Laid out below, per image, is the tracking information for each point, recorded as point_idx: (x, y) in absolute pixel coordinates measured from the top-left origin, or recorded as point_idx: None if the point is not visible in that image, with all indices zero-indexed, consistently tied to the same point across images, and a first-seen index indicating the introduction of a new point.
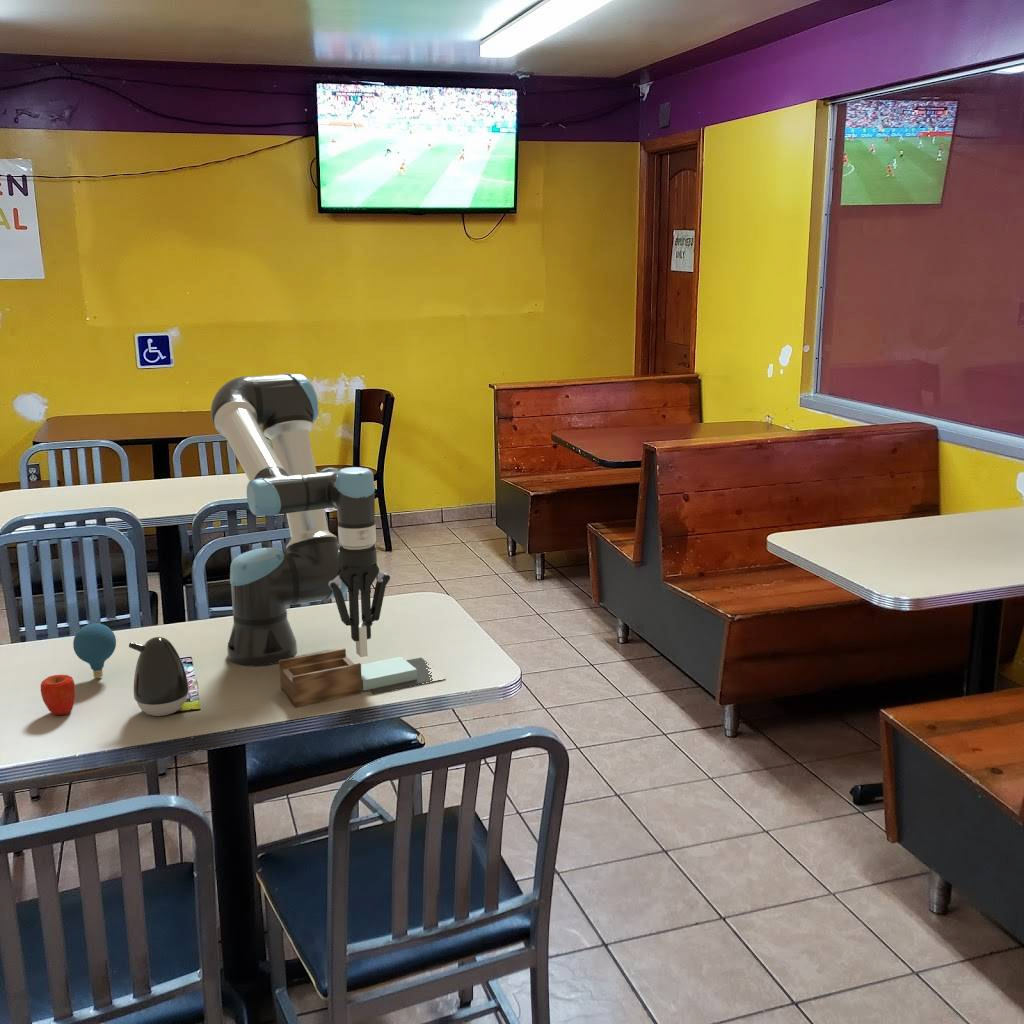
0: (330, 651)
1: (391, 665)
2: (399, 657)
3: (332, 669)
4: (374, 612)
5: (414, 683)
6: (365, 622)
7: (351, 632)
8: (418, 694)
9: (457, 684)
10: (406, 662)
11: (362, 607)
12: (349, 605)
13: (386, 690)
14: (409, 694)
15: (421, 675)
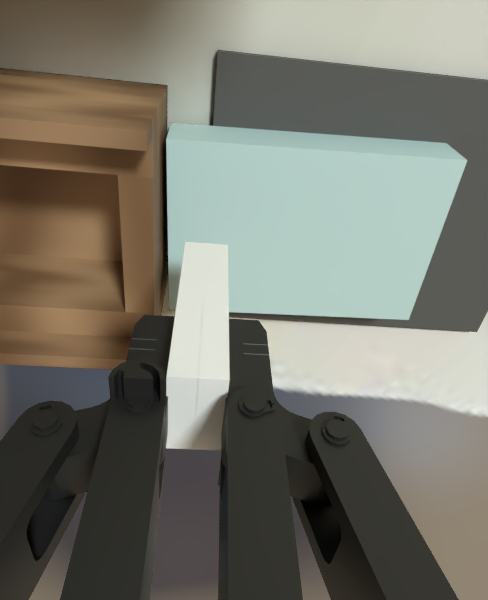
0: (36, 134)
1: (355, 234)
2: (452, 166)
3: (4, 362)
4: (311, 534)
5: (363, 319)
6: (220, 464)
7: (128, 357)
8: (326, 371)
9: (470, 369)
10: (430, 239)
11: (224, 548)
12: (69, 573)
13: (250, 317)
14: (303, 360)
15: (432, 275)
